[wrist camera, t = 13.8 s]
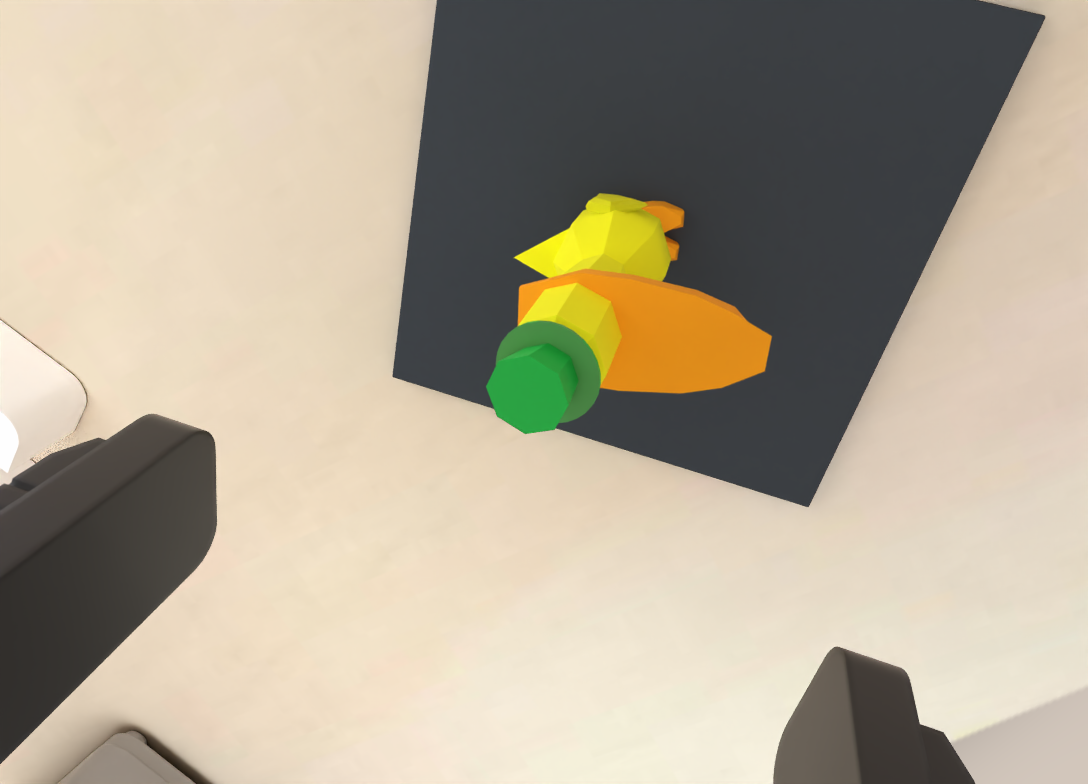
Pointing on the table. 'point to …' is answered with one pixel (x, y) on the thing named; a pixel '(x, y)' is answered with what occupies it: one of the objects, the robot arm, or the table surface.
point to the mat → (704, 191)
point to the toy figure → (615, 321)
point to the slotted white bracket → (32, 403)
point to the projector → (125, 764)
